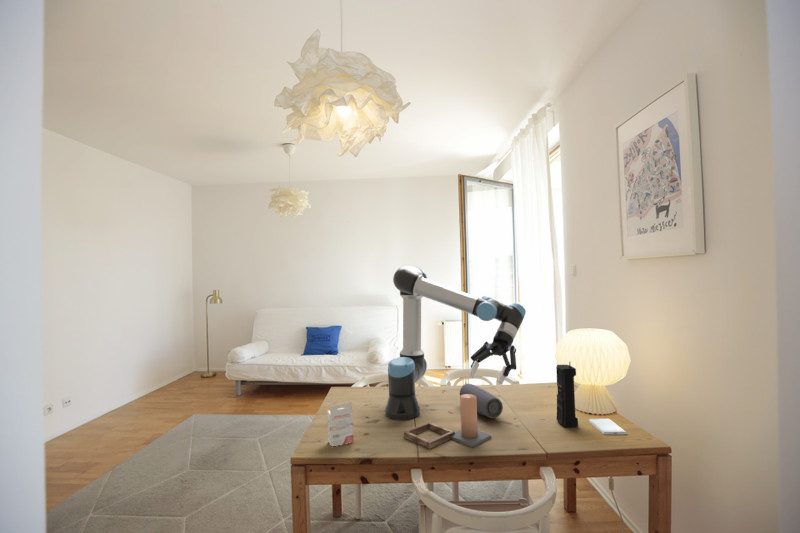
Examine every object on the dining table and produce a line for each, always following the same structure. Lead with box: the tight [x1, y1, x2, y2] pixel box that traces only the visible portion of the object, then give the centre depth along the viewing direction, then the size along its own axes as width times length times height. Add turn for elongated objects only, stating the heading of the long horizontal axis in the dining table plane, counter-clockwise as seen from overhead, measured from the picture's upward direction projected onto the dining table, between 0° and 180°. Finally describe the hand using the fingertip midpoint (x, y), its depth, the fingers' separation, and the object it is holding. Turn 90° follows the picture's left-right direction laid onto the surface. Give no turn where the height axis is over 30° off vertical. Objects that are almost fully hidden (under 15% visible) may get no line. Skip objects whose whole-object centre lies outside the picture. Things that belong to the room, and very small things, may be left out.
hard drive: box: [588, 418, 628, 435], centre depth 143 cm, size 2×8×12 cm
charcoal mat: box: [450, 429, 492, 449], centre depth 137 cm, size 11×11×1 cm
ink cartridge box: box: [326, 402, 355, 447], centre depth 137 cm, size 9×5×15 cm, turn 114°
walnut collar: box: [403, 421, 456, 449], centre depth 139 cm, size 13×13×2 cm
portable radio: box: [556, 362, 579, 428], centre depth 148 cm, size 8×6×25 cm
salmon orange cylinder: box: [459, 394, 479, 439], centre depth 137 cm, size 6×6×14 cm
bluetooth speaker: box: [459, 383, 504, 419], centre depth 163 cm, size 23×9×10 cm, turn 18°
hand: (484, 379), depth 145 cm, fingers open, 13 cm apart
